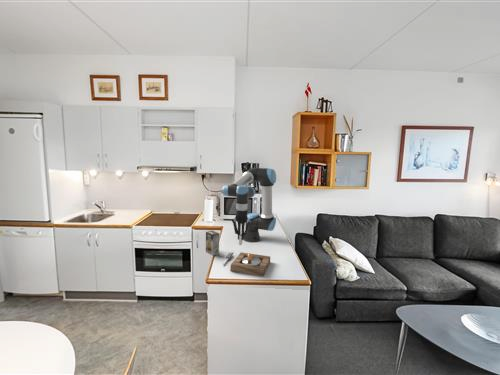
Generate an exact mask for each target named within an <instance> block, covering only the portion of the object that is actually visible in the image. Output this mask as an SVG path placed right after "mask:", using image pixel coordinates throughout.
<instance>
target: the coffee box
mask: <svg viewBox="0 0 500 375" xmlns="http://www.w3.org/2000/svg"><path fill="white" fill-rule="evenodd" d="M205 253H206V254H209V255H210V256H216V255H219V254H220V233H219V232H216V231H215V230H209V231H206V232H205Z"/></svg>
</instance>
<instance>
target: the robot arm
mask: <svg viewBox="0 0 500 375" xmlns="http://www.w3.org/2000/svg"><path fill="white" fill-rule="evenodd" d="M276 181H277V174H276V171H275V169H273V168H269V167H268V168H264V167H262V168H261V167H253V168H250V169H248V170H246V171H245V172H243V174H242V176H240V177H239V178H238V179H236V180H235V181H233V182H231V184H230V185H229V184H227V185H223V187H222V189H221V190H222V191H221V192H222V195H224V196H226V197H233V198H236V202H235V204H236V205H235V209H236V210H235V217H234V218H232V219H231V222H232V225H233V229H234V234H236V235H237V240H238V245H239V246H243V241H244V242H249V243H257V242H259V241H261V235H260V231H261V230H263V231H267V232H268V231H270V232H272V231H274V229H275V227H276V224H277V223H276V222H277V217H275V215H274V213H273V187H274V185H275V184H276ZM254 182H255V183H259V186H260V188H261V213H260V214H259V213H258V212H251V213H249V212H248V206H249V199H252V198H253V197H254V196H255V195H256V189H255V188H254V187H253V186H248V185H249V184H251V183H254Z"/></svg>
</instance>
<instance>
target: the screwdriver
mask: <svg viewBox="0 0 500 375" xmlns="http://www.w3.org/2000/svg"><path fill="white" fill-rule="evenodd" d="M233 255H234V254H233V252H229V253H228V254H227V255H226V256H225V260H224V261H223V263H222V265H223V266H224V265H225V264H226V263H227V262H228V261H230V260H231V259H232V258H233Z"/></svg>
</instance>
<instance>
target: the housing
mask: <svg viewBox="0 0 500 375" xmlns="http://www.w3.org/2000/svg"><path fill="white" fill-rule="evenodd" d="M248 254H252V257H257V258H259V259H260V260H261V264H260V266H253V265H247V264H242V259H243V258H245V257H248ZM270 264H271V256H269V255H264V254H263V255H262V254H255V253H249V252H241V251H240V252H239V254H238V255H237V256H236V258H235V259H234V260H233V261H232V262H231V263H230V272H234V273H240V274H247V275H252V276H258V277H264V276H265V275H266V272H267V269H268V268H269V267H270V266H269V265H270Z"/></svg>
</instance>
